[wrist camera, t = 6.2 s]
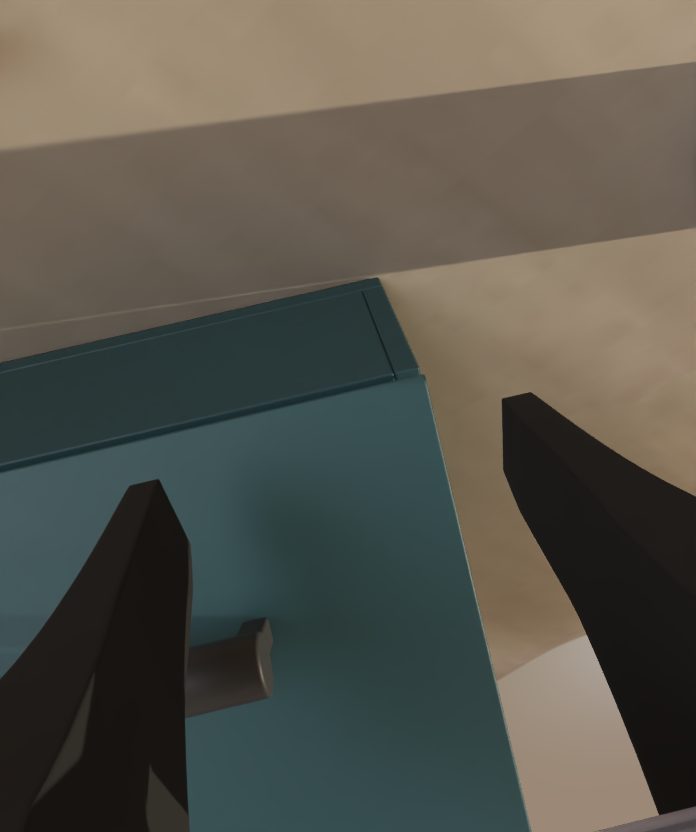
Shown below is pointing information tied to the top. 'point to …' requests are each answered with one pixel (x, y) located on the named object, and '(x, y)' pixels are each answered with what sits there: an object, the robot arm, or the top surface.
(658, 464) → the top surface
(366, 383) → the bin
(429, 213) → the top surface
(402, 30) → the top surface
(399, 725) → the bin lid
